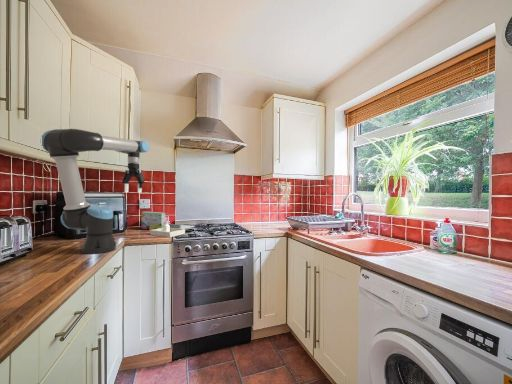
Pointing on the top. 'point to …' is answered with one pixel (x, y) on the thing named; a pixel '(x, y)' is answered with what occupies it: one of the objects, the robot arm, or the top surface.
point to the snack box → (152, 220)
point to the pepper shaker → (166, 226)
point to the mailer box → (167, 234)
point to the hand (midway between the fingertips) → (132, 192)
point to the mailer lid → (179, 226)
